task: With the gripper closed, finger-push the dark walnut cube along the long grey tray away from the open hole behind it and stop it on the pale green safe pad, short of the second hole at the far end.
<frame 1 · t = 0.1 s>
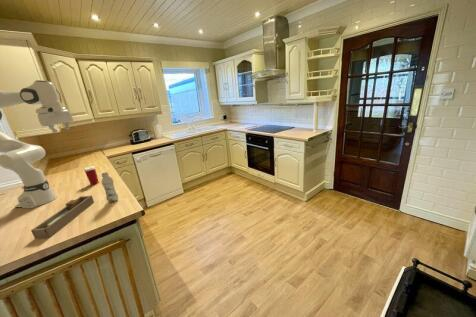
hand: (61, 131, 127), 48 cm above the countertop, fingers open, 8 cm apart
block: (74, 208, 124), point 3 cm above the countertop, touching long grey tray
plastic bottle: (113, 201, 135), on the countertop
paper cup: (94, 183, 166), on the countertop
long grey tray: (67, 219, 118), on the countertop
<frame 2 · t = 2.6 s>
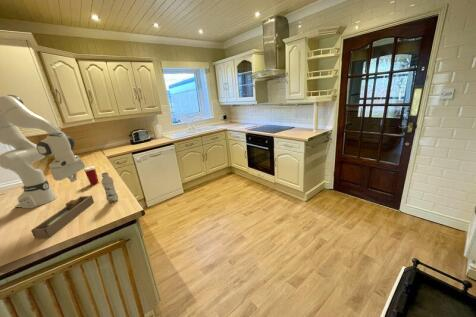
hand: (74, 180, 125), 18 cm above the countertop, fingers closed
nothing on the countertop moved.
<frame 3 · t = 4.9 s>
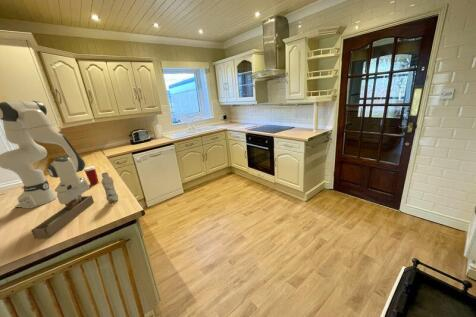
hand: (78, 202, 127), 4 cm above the countertop, fingers closed
block: (74, 208, 123), point 3 cm above the countertop, touching gripper
everything else where it was.
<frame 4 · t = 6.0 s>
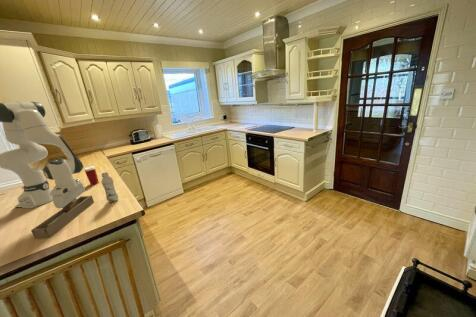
hand: (74, 205, 123), 5 cm above the countertop, fingers closed, pressing on block
block: (71, 210, 121), point 3 cm above the countertop, touching gripper, long grey tray
everything else where it was.
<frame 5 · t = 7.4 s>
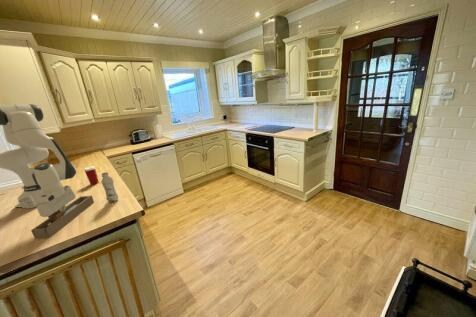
hand: (63, 213, 115), 5 cm above the countertop, fingers closed
block: (58, 220, 112), point 3 cm above the countertop, touching gripper, long grey tray
everything else where it was.
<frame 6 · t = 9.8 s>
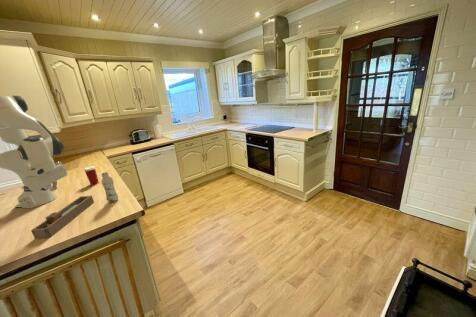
hand: (54, 190, 112), 19 cm above the countertop, fingers closed
block: (56, 221, 111), point 3 cm above the countertop, touching long grey tray
everything else where it was.
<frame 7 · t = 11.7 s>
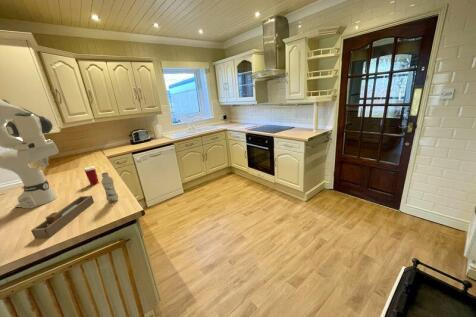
hand: (45, 166, 116), 31 cm above the countertop, fingers closed
nothing on the countertop moved.
at the end: block inside the target area on the long grey tray (1.0 cm from its centre), point 3.0 cm above the long grey tray's base; block tilted 0° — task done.
